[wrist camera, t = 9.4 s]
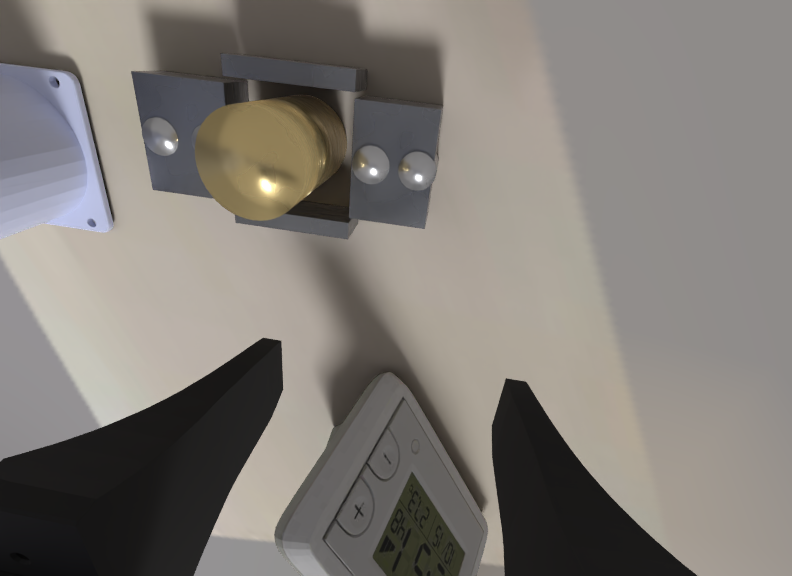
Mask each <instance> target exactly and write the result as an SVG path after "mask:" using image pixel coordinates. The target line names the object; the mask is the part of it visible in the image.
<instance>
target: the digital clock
mask: <svg viewBox="0 0 792 576" xmlns="http://www.w3.org/2000/svg"><path fill="white" fill-rule="evenodd" d="M487 534H488V526H487V523H486V520H485V518H484V516H483V514H482V513H481V511H480V509H479V507H478V505H477V504H476V502H475V500H474V498H473V497H472V495H471V493H470V492H469V490H468V488H467V486H466V485H465V483H464V481H463V480H462V478H461V476H460V474H459V473H458V471H457V469H456V468H455V466H454V464H453V462H452V461H451V459H450V457H449V455H448V454H447V452H446V450H445V449H444V447H443V445H442V443H441V442H440V440H439V438H438V437H437V435H436V433H435V431H434V430H433V428H432V426H431V425H430V423H429V421H428V419H427V418H426V416H425V414H424V413H423V411H422V409H421V407H420V406H419V404H418V402H417V401H416V399H415V398H414V396H413V394H412V393H411V391H410V390H409V388H408V387H407V386H406V385H405V384H404V383H403V382H402V381H401V380H400V379H399V378H398V377H397V376H396V375H394V374H393V373H391V372H386V373H382V374H380V375H378V376H377V377H375V378H374V379H373V381H372V382H371V383H370V384H369V385H368V386H367V388H366V389H365V391H364V392H363V394H362V395H361V397H360V398H359V400H358V401H357V403H356V404H355V406H354V407H353V409H352V410H351V412H350V413H349V414H348V416H347V417H346V419H345V420H344V422H343V423H342V424H340V425H337V426H335V427H334V428H333V430H332V432H331V435H330V438H329V441H328V444H327V447H326V449H325V450H324V452H323V453H322V455H321V456H320V458H319V459H318V461H317V462H316V464H315V465H314V467H313V468H312V470H311V471H310V473H309V474H308V476H307V477H306V479H305V480H304V482H303V483H302V485H301V486H300V488H299V489H298V491H297V492H296V494H295V495H294V497H293V498H292V500H291V502H290V503H289V505H288V506H287V508H286V510H285V511H284V513H283V514H282V516H281V518H280V520H279V522H278V524H277V526H276V529H275V534H274V536H275V543H276V546H277V548H278V550H279V552H280V553H281V554H282V556H283V557H284V558H285V559H286V560H287V561H288V563H289V564H290V565H291V566H292V567H293V568H294V569H295V570H296V571H297V572H298V573H299V575H300V576H477V573H478V569H479V566H480V562H481V558H482V555H483V551H484V548H485V544H486V540H487Z"/></svg>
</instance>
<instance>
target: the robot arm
mask: <svg viewBox="0 0 792 576" xmlns="http://www.w3.org/2000/svg"><path fill="white" fill-rule="evenodd" d="M56 78H57V79H58V81H59V83H60V86H59V85H58V84H57V82H56ZM93 220H94V221H95V222H96V224H95V223H94V222H93ZM43 223H45V224H51V225H58V226H64V227H71V228H78V229H84V230H91V231H97V232H108V231H110V230H111V229H112V228H113V220H112V216H111V212H110V208H109V204H108V199H107V195H106V191H105V187H104V183H103V178H102V174H101V170H100V166H99V162H98V158H97V153H96V149H95V145H94V141H93V137H92V132H91V128H90V124H89V120H88V116H87V112H86V107H85V103H84V99H83V95H82V91H81V86H80V83H79V81H78V79H77V77H76V76H75V75H74V74H72V73H71V72H68V71H62V70H54V69H46V68H38V67H30V66H22V65H14V64H6V63H0V239H3V238H5V237H8V236H11V235H13V234H16V233H19V232H21V231H24V230H27V229H29V228H32V227H35V226H37V225H40V224H43ZM282 391H283V373H282V348H281V341H279V340H273V339H267V338H262V339H261V340H259V341H258V342H256V343H255V344H253V345H252V346H250V347H249V348H247V349H246V350H244V351H243V352H241V353H240V354H239V355H237V356H236V357H234V358H233V359H231V360H230V361H228V362H227V363H225V364H224V365H222V366H221V367H219V368H218V369H216V370H215V371H213V372H212V373H210V374H208V375H207V376H205V377H203V378H202V379H200V380H198V381H197V382H195V383H193V384H192V385H190V386H188V387H187V388H185V389H183V390H182V391H180V392H178V393H176V394H174V395H172V396H170V397H169V398H167V399H165V400H163V401H161V402H159V403H157V404H155V405H153V406H151V407H149V408H146V409H144V410H142V411H140V412H138V413H135V414H133V415H131V416H128V417H126V418H124V419H121V420H119V421H117V422H114V423H112V424H110V425H107V426H104V427H102V428H99V429H97V430H94V431H91V432H89V433H86V434H83V435H80V436H77V437H74V438H71V439H68V440H66V441H62V442H59V443H56V444H53V445H50V446H46V447H43V448H40V449H36V450H33V451H29V452H26V453H22V454H19V455H15V456H12V457H8V458H5V459H3V460H2V461H1V462H0V576H194V573H195V571H196V568H197V566H198V563H199V561H200V558H201V556H202V553H203V551H204V548H205V546H206V544H207V542H208V539H209V537H210V535H211V532H212V530H213V528H214V525H215V523H216V521H217V519H218V516H219V514H220V512H221V510H222V508H223V505H224V503H225V501H226V499H227V496H228V494H229V492H230V490H231V488H232V486H233V484H234V482H235V481H236V479H237V477H238V475H239V473H240V472H241V470H242V468H243V466H244V465H245V463H246V461H247V459H248V458H249V456H250V454H251V453H252V451H253V449H254V447H255V446H256V444H257V442H258V440H259V439H260V437H261V435H262V433H263V432H264V430H265V428H266V426H267V425H268V423H269V421H270V419H271V417H272V415H273V413H274V410H275V408H276V406H277V403H278V401H279V398H280V396H281V393H282ZM492 458H493V466H494V474H495V481H496V489H497V496H498V503H499V511H500V518H501V525H502V534H503V544H504V567H505V576H697V575H696V574H695V573H693V572H692V571H691V570H689V569H688V568H687V567H685V566H684V565H683V564H682V563H681V562H680V561H678V560H677V559H676V558H675V557H674V556H673V555H671V554H670V553H669V552H668V551H667V550H666V549H665V548H663V547H662V546H661V545H660V544H659V543H658V542H657V541H655V540H654V539H653V538H652V537H651V536H650V535H649V534H648V533H647V532H646V531H645V530H643V529H642V528H641V527H640V526H639V525H638V524H637V523H636V522H635V521H634V520H633V519H632V518H631V517H630V516H629V515H628V514H627V513H626V512H625V511H624V510H623V509H622V508H621V507H620V506H619V505H618V504H617V503H616V502H615V501H614V500H613V499H612V498H611V497H610V496H609V495H608V493H607V492H606V491H605V490H604V489H603V488H602V487H601V486H600V484H599V483H598V482H597V481H596V480H595V479H594V478H593V477H592V475H591V474H590V473H589V472H588V471H587V470H586V468H585V467H584V466H583V465H582V463H581V462H580V461H579V459H578V458H577V457H576V456H575V454H574V453H573V452H572V450H571V449H570V448H569V446H568V445H567V443H566V442H565V441H564V439H563V438H562V436H561V435H560V434H559V432H558V431H557V429H556V428H555V426H554V425H553V423H552V422H551V420H550V419H549V417H548V416H547V414H546V413H545V411H544V409H543V408H542V406H541V405H540V403H539V402H538V400H537V398H536V397H535V395H534V393H533V392H532V390H531V389H530V387H529V385H528V384H527V383H526V382H524V381H518V380H512V379H506V380H505V384H504V387H503V390H502V394H501V397H500V400H499V404H498V407H497V411H496V414H495V417H494V421H493V424H492Z"/></svg>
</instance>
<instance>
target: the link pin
mask: <svg viewBox="0 0 792 576" xmlns="http://www.w3.org/2000/svg"><path fill="white" fill-rule="evenodd" d="M346 148H347V140H346V133H345V130H344V127H343V124H342V122H341V120H340V118H339V117H338V115H337V114H336V112H335V111H334V110H333V109H332V108H331V107H330V106H329V105H328V104H327V103H325V102H324V101H322V100H320V99H318V98H316V97H313V96H310V95H292V96H285V97H278V98H271V99H265V100H258V101H251V102H244V103H237V104H230V105H226V106H223V107H221V108H219V109H217V110H215V111H214V112H212V113H211V114H210V115H209V116H208V117H207V118H206V119H205V120H204V122H203V123H202V124H201V127H200V129H199V131H198V134H197V137H196V142H195V160H196V165H197V169H198V172H199V175H200V177H201V179H202V182H203V183H204V185H205V187H206V189H207V190H208V191H209V193H210V194H211V195H212V196H213V198H214V199H215V200H216V201H217V202H218V203H219V204H220V205H221V206H223V207H224V208H225V209H227V210H228V211H230V212H232V213H233V214H235V215H237V216H240V217H242V218H246V219H250V220H257V221H264V220H271V219H275V218H277V217H280V216H281V215H283V214H285V213H286V212H288V211H289V210H290V209H291V208H293V207H294V206H295V205H296V204H298V203H299V202H300V201H301V200H302V199H304V198H305V197H306V196H307V195H309V194H310V193H311V192H312V191H314V190H315V189H316V188H317V187H319V186H320V185H321V184H322V183H324V182H325V181H326V180H327V179H329V178H330V177H331V176H332V175H333V174H335V173H336V172H337V170H338V169H339V168H340V166H341V165H342V163H343V161H344V158H345V154H346Z"/></svg>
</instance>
